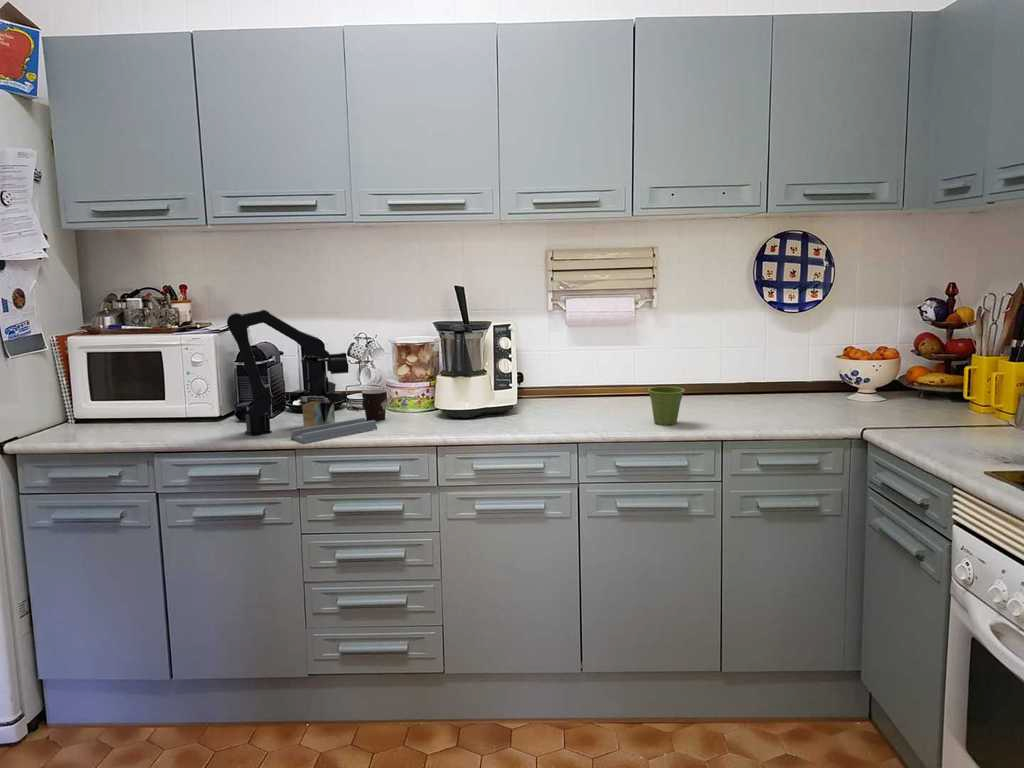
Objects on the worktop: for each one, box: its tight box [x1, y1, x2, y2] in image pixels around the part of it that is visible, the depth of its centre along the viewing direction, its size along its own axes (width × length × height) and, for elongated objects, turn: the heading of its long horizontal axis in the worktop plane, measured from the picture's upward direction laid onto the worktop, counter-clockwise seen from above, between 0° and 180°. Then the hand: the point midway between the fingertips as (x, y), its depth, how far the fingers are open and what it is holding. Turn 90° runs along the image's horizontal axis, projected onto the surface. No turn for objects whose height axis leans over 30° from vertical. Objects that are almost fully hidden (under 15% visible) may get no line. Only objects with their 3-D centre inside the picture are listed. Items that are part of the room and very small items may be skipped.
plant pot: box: [647, 386, 686, 426], centre depth 252 cm, size 12×12×11 cm
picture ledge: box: [290, 417, 378, 444], centre depth 248 cm, size 26×9×3 cm, turn 134°
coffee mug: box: [361, 388, 388, 422], centre depth 267 cm, size 12×9×10 cm
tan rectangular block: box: [301, 399, 336, 428], centre depth 258 cm, size 14×4×9 cm, turn 164°
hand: (319, 421), depth 258 cm, fingers closed on tan rectangular block, 4 cm apart
